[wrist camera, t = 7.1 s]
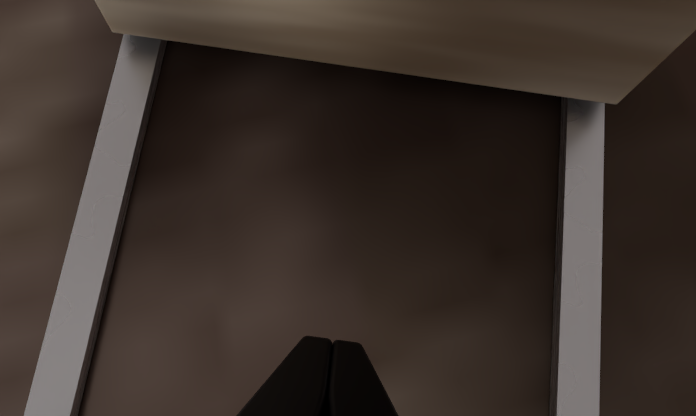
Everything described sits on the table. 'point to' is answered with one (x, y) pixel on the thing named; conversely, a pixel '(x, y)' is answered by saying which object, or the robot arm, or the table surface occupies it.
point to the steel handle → (114, 193)
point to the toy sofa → (438, 37)
